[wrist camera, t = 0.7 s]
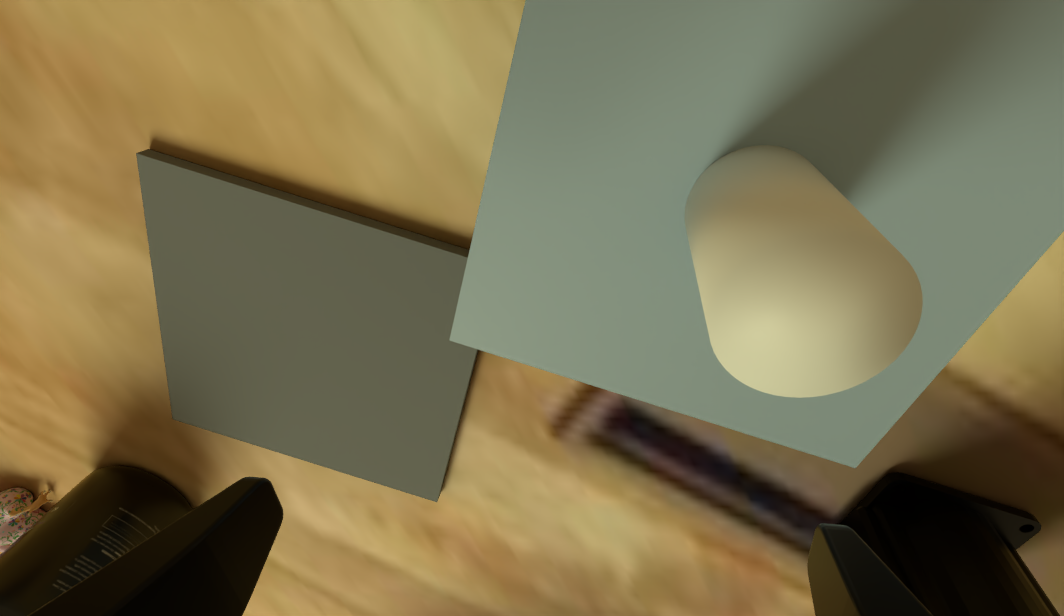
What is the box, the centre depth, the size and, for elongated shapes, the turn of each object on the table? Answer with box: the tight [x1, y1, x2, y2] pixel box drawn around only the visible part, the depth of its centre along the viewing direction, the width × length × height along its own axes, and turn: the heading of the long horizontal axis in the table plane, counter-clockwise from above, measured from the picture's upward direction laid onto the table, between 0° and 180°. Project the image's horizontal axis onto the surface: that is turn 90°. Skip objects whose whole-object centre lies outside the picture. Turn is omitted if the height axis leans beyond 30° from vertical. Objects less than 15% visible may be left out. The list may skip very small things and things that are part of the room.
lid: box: [449, 0, 1064, 468], centre depth 11 cm, size 13×13×6 cm
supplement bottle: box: [0, 466, 192, 616], centre depth 28 cm, size 7×7×12 cm
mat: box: [136, 149, 478, 502], centre depth 24 cm, size 14×14×1 cm
